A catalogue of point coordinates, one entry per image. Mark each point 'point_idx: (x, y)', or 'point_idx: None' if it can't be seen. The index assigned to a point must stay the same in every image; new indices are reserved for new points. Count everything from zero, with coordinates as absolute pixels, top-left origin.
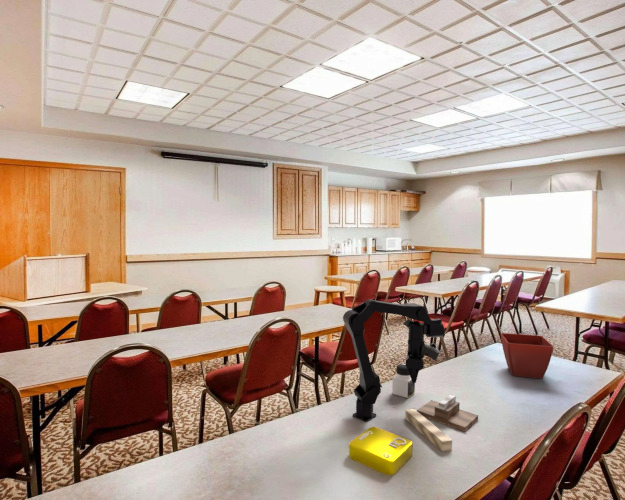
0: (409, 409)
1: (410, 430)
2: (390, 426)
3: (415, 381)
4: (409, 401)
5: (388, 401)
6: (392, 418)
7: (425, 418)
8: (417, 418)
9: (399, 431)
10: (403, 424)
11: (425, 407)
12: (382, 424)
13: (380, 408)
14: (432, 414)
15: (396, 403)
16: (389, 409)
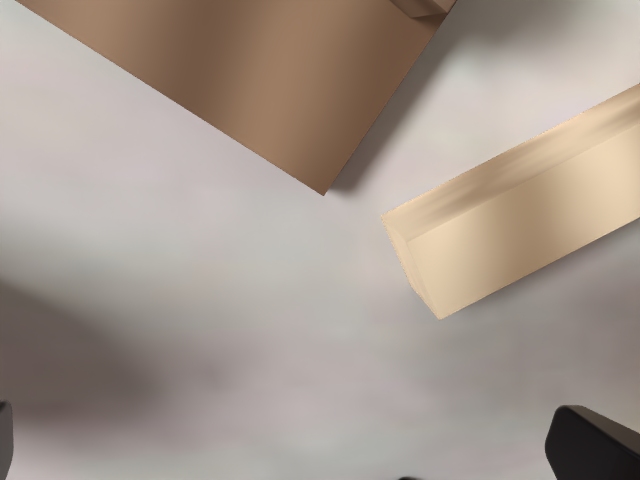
0: (427, 284)
1: (591, 250)
2: (538, 379)
3: (615, 432)
4: (24, 240)
5: (100, 426)
6: (422, 374)
7: (601, 146)
8: (600, 220)
9: (602, 322)
10: (507, 297)
11: (241, 95)
12: (513, 427)
13: (265, 467)
14: (399, 39)
15: (123, 360)
16: (268, 405)
